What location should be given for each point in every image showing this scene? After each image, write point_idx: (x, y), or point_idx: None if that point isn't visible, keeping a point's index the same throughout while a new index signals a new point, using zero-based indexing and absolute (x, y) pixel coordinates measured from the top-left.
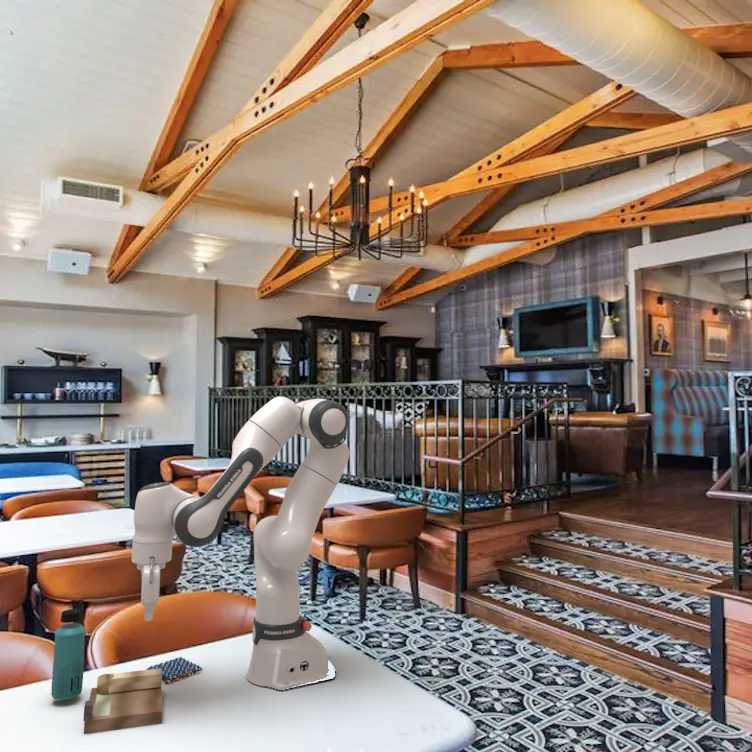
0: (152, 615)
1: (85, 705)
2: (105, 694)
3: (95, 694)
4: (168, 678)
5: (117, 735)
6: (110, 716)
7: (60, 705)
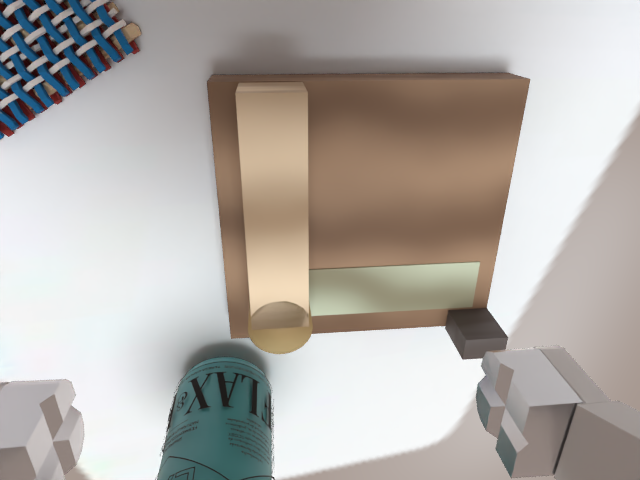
0: (585, 378)
1: None
2: None
3: None
4: (124, 37)
5: (521, 213)
6: (487, 257)
7: None
